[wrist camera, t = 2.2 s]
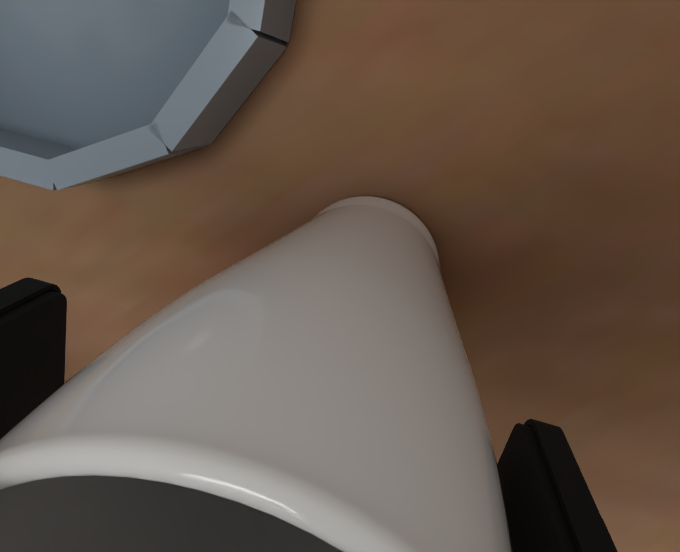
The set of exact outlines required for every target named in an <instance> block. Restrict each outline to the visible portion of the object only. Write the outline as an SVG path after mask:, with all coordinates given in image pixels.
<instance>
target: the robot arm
mask: <svg viewBox="0 0 680 552" xmlns="http://www.w3.org/2000/svg"><path fill="white" fill-rule="evenodd" d="M66 311H67V300H66V297H65V296H64V295H63V294H61V290H60V288H59V287H58V286H57V285H54V284H51V283H47V282H44V281H40V280H37V279H33V278H24V279H21V280H19V281H17V282H15V283H13V284H10V285H8V286H6V287H4V288H2V289H0V439H1V438H2V437H3V436H4V435H5V434H6V433H7V432H9V431H10V430H11V429H12V428H13V427H14V426H15V425H17V424H18V423H19V422H20V421H21V420H22V419H23V418H25V417H26V416H27V415H28V414H29V413H30V412H32V411H33V410H34V409H35V408H36V407H37V406H38V405H40V404H41V403H42V402H43V401H44V400H46V399H47V398H48V397H49V396H50V395H51V394H53V393H54V392H55V391H56V390H57V389H59V388H60V387H61V386H62V385H63V384H64V372H65V341H66ZM497 467H498V472H499V477H500V482H501V487H502V492H503V498H504V504H505V510H506V516H507V522H508V528H509V535H510V542H511V548H512V552H617V550H616V547H615V545H614V543H613V541H612V538H611V536H610V534H609V532H608V530H607V527H606V525H605V523H604V521H603V519H602V517H601V515H600V513H599V511H598V509H597V507H596V504H595V502H594V500H593V498H592V495H591V493H590V491H589V489H588V486H587V484H586V482H585V480H584V477H583V475H582V473H581V471H580V468H579V466H578V464H577V462H576V460H575V457H574V455H573V453H572V451H571V448H570V446H569V444H568V442H567V439H566V437H565V435H564V433H563V431H562V429H561V428H560V427H558V426H554V425H551V424H547V423H544V422H540V421H537V420H533V419H529V420H527V421H526V422H525V424H524V425H523V424H520V423H518V424H516V425H515V426H514V428H513V430H512V432H511V435H510V437H509V439H508V441H507V444H506V446H505V448H504V450H503V453H502V455H501V457H500V460H499V462H498V464H497Z"/></svg>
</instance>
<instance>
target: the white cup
mask: <svg viewBox="0 0 680 552" xmlns="http://www.w3.org/2000/svg"><path fill="white" fill-rule="evenodd" d="M0 552H512V548H511V542H510V535H509V528H508V522H507V516H506V510H505V504H504V498H503V492H502V487H501V482H500V477H499V472H498V467H497V462H496V458H495V453H494V449H493V445H492V440H491V436H490V432H489V427H488V423H487V419H486V415H485V412H484V408H483V404H482V401H481V397H480V394H479V391H478V387H477V384H476V381H475V378H474V374H473V371H472V368H471V365H470V362H469V359H468V356H467V353H466V350H465V347H464V344H463V341H462V338H461V335H460V332H459V329H458V326H457V323H456V320H455V317H454V313H453V310H452V307H451V304H450V301H449V298H448V295H447V291H446V288H445V285H444V282H443V278H442V275H441V272H440V261H439V255H438V251H437V248H436V245H435V242H434V240H433V238H432V236H431V234H430V232H429V231H428V229H427V228H426V226H425V225H424V224H423V223H422V221H421V220H420V219H419V218H418V217H417V216H416V215H414V214H413V213H412V212H411V211H409V210H408V209H407V208H405V207H403V206H402V205H400V204H398V203H395V202H393V201H390V200H387V199H384V198H380V197H373V196H358V197H351V198H347V199H343V200H340V201H337V202H335V203H333V204H331V205H329V206H327V207H326V208H324V209H323V210H321V211H320V212H319V213H318V214H316V215H315V216H314V217H313V218H312V219H311V220H310V221H308V222H307V223H305V224H303V225H302V226H300V227H298V228H297V229H295V230H293V231H291V232H290V233H288V234H286V235H284V236H283V237H281V238H279V239H277V240H276V241H274V242H272V243H270V244H269V245H267V246H265V247H263V248H261V249H260V250H258V251H256V252H254V253H253V254H251V255H249V256H247V257H245V258H244V259H242V260H240V261H238V262H237V263H235V264H233V265H231V266H229V267H228V268H226V269H224V270H222V271H221V272H219V273H217V274H215V275H214V276H212V277H210V278H209V279H207V280H205V281H204V282H202V283H200V284H199V285H197V286H196V287H194V288H192V289H191V290H189V291H188V292H186V293H185V294H183V295H181V296H180V297H178V298H177V299H175V300H174V301H172V302H170V303H169V304H167V305H166V306H164V307H163V308H162V309H160V310H159V311H157V312H156V313H154V314H153V315H151V316H150V317H149V318H147V319H146V320H144V321H143V322H142V323H140V324H139V325H138V326H136V327H135V328H134V329H132V330H131V331H130V332H128V333H127V334H126V335H124V336H123V337H122V338H120V339H119V340H118V341H117V342H115V343H114V344H113V345H111V346H110V347H109V348H108V349H106V350H105V351H104V352H102V353H101V354H100V355H99V356H98V357H96V358H95V359H94V360H93V361H91V362H90V363H89V364H88V365H87V366H85V367H84V368H83V369H82V370H80V371H79V372H78V373H77V374H76V375H74V376H73V377H72V378H71V379H69V380H68V381H67V382H66V383H65V384H63V385H62V386H61V387H60V388H59V389H57V390H56V391H55V392H54V393H53V394H51V395H50V396H49V397H48V398H47V399H46V400H44V401H43V402H42V403H41V404H40V405H38V406H37V407H36V408H35V409H34V410H33V411H32V412H30V413H29V414H28V415H27V416H26V417H25V418H23V419H22V420H21V421H20V422H19V423H18V424H17V425H15V426H14V427H13V428H12V429H11V430H10V431H9V432H7V433H6V434H5V435H4V436H3V437H2V438H1V439H0Z"/></svg>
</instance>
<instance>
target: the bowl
mask: <svg viewBox="0 0 680 552" xmlns="http://www.w3.org/2000/svg"><path fill="white" fill-rule="evenodd" d="M295 5H296V0H0V176H4V177H7V178H11V179H14V180H18V181H21V182H25V183H28V184H32V185H36V186H39V187H43V188H46V189H50V190H61V189H65V188H69V187H73V186H78V185H82V184H86V183H90V182H94V181H98V180H102V179H107V178H111V177H114V176H117V175H120V174H123V173H126V172H129V171H132V170H135V169H138V168H142V167H145V166H148V165H151V164H154V163H157V162H160V161H163V160H166V159H169V158H172V157H175V156H179V155H182V154H185V153H188V152H191V151H194V150H197V149H200V148H203V147H206V146H208V144H212V142H213V141H214V140H215V139H216V137H217V136H218V135H219V133H220V132H221V131H222V130H223V128H224V127H225V126H226V125H227V123H228V122H229V121H230V119H231V118H232V117H233V116H234V114H235V113H236V112H237V110H238V109H239V108H240V107H241V105H242V104H243V103H244V102H245V100H246V99H247V98H248V96H249V95H250V94H251V93H252V91H253V90H254V89H255V87H256V86H257V85H258V84H259V82H260V81H261V80H262V78H263V77H264V76H265V75H266V73H267V72H268V71H269V70H270V68H271V67H272V66H273V64H274V63H275V62H276V61H277V59H278V58H279V57H280V55H281V54H282V53H283V52H284V50H285V49H286V48H287V47H286V46H285V45H284V43H283V42H282V41H284V42H288V43H289V40H290V34H291V28H292V22H293V16H294V11H295Z"/></svg>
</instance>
